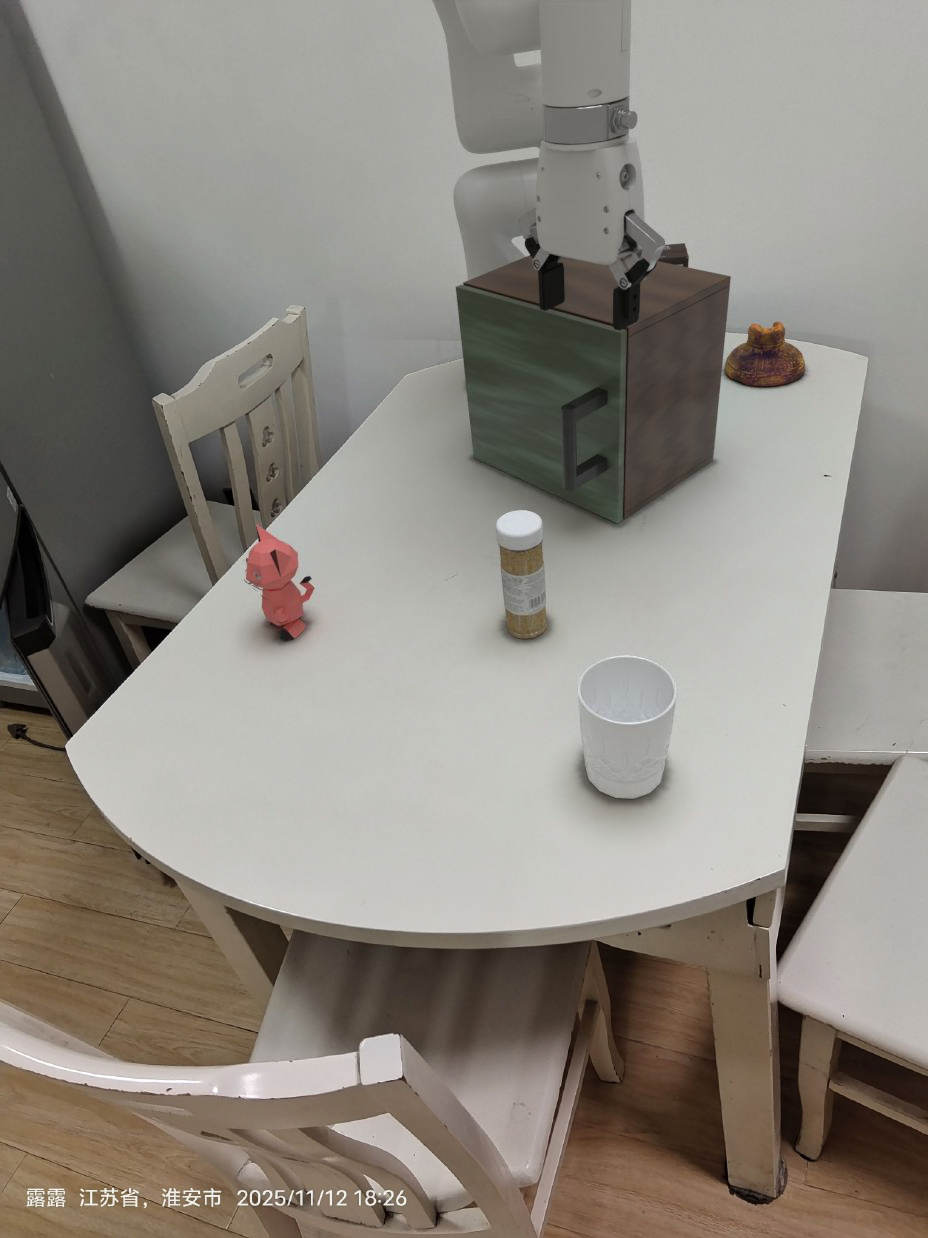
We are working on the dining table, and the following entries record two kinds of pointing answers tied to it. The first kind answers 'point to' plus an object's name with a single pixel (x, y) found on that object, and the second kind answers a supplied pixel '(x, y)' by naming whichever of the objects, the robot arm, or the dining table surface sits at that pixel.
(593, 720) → the white cup
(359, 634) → the dining table surface
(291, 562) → the cat figurine
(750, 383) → the bell
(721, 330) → the cupboard
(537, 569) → the sprinkles bottle
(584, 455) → the door
